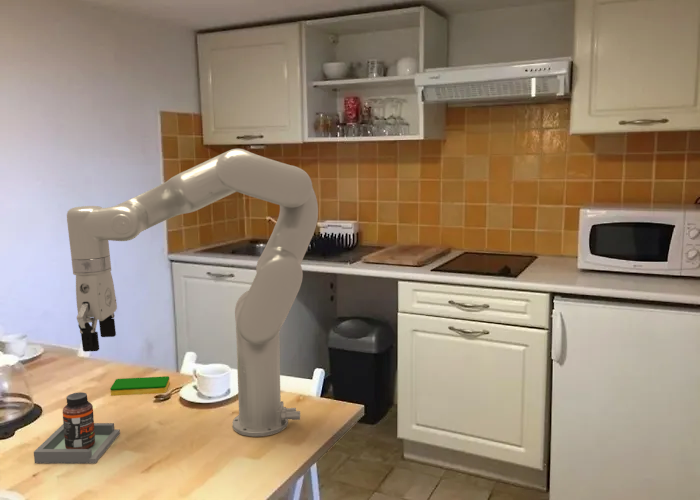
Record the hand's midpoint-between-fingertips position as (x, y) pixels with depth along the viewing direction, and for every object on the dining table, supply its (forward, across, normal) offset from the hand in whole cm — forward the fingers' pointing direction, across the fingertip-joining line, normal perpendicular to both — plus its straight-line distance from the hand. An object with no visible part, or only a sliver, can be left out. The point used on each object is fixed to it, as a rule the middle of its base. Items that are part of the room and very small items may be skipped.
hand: (100, 343), depth 136 cm
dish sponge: (+22, +28, +2) cm, 36 cm away
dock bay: (+21, -5, +5) cm, 22 cm away
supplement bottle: (+21, -4, +5) cm, 22 cm away
